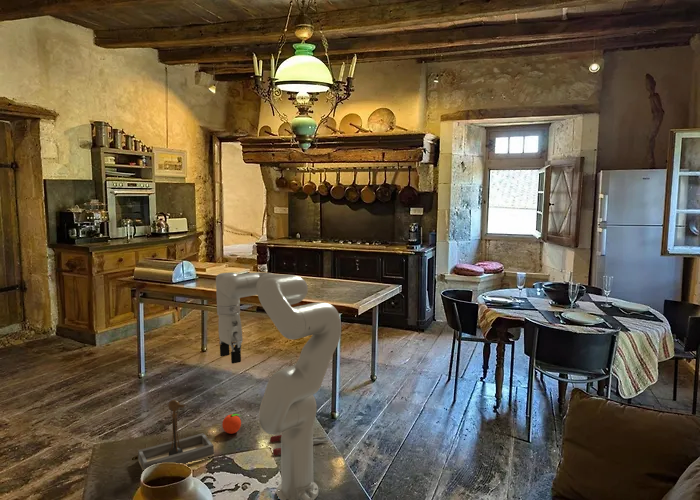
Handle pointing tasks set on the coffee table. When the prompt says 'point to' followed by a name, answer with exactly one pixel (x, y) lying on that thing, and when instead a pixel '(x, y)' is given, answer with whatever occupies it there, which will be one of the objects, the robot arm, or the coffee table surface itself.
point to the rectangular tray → (192, 451)
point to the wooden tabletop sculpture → (175, 426)
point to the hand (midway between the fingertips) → (230, 359)
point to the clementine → (231, 423)
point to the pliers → (278, 438)
